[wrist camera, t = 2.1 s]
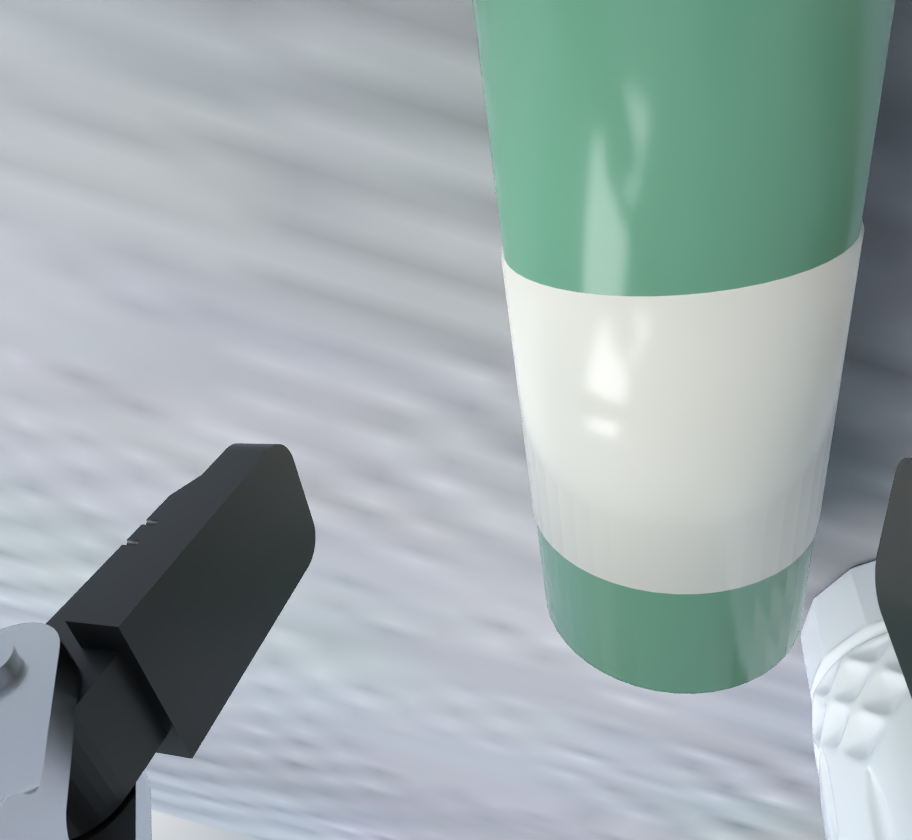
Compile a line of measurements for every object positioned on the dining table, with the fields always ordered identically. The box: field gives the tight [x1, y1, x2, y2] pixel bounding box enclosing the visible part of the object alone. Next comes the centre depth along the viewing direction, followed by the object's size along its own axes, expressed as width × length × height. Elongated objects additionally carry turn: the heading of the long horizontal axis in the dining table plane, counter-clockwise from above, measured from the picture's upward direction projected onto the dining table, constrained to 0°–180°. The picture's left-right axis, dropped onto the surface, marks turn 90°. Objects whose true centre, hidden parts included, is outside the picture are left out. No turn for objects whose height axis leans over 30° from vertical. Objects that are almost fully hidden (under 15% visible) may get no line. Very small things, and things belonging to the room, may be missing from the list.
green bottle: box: [472, 0, 896, 694], centre depth 12 cm, size 20×6×6 cm, turn 9°
